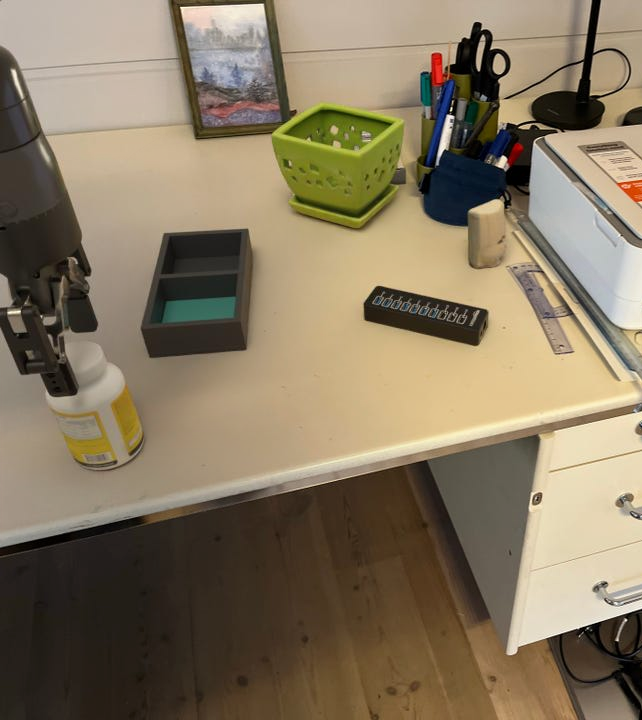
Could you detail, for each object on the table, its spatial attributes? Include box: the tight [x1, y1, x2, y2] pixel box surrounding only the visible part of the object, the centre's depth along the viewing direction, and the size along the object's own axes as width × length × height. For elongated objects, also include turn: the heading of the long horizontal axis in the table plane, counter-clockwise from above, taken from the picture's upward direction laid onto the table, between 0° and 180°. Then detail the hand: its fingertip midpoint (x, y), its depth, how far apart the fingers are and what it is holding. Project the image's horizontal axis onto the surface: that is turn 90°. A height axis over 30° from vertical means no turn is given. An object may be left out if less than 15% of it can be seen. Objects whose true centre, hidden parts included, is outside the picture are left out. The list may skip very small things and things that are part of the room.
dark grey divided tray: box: [140, 227, 254, 359], centre depth 90 cm, size 20×10×4 cm, turn 11°
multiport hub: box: [363, 285, 490, 347], centre depth 90 cm, size 4×14×2 cm, turn 73°
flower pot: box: [270, 101, 405, 229], centre depth 106 cm, size 14×14×13 cm
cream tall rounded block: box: [467, 198, 507, 269], centre depth 99 cm, size 6×5×8 cm
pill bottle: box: [45, 340, 145, 471], centre depth 69 cm, size 6×6×12 cm
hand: (76, 360), depth 66 cm, fingers open, 8 cm apart
